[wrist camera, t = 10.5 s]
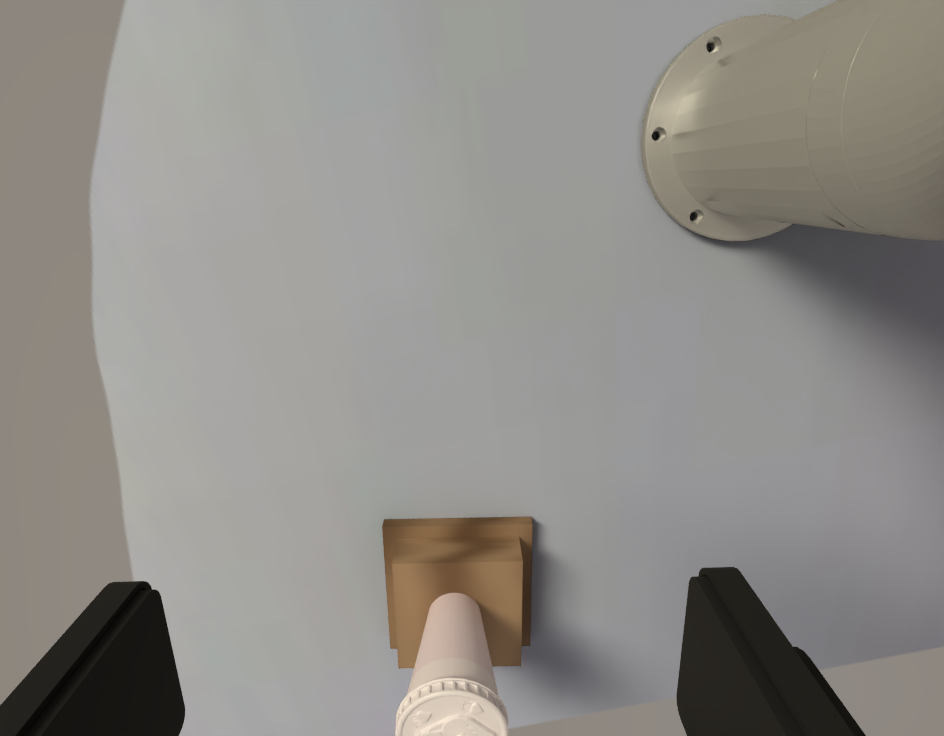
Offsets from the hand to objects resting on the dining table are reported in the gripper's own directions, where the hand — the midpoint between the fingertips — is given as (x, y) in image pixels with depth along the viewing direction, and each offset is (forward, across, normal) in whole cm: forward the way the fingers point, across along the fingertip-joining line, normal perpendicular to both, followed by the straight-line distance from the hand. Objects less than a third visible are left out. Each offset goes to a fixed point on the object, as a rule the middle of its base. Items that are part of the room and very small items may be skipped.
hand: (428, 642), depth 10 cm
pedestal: (+30, 0, +22) cm, 37 cm away
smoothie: (+26, +1, +22) cm, 34 cm away
